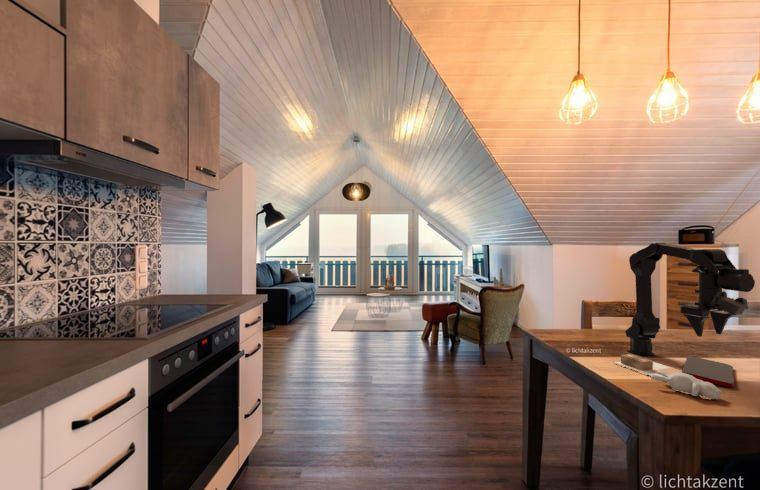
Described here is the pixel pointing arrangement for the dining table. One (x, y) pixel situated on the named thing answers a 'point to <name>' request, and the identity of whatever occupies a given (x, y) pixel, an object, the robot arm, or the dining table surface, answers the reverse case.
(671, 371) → the mat
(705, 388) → the bunny figurine
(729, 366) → the grey and red slab
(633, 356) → the slotted tan box
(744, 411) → the dining table surface
